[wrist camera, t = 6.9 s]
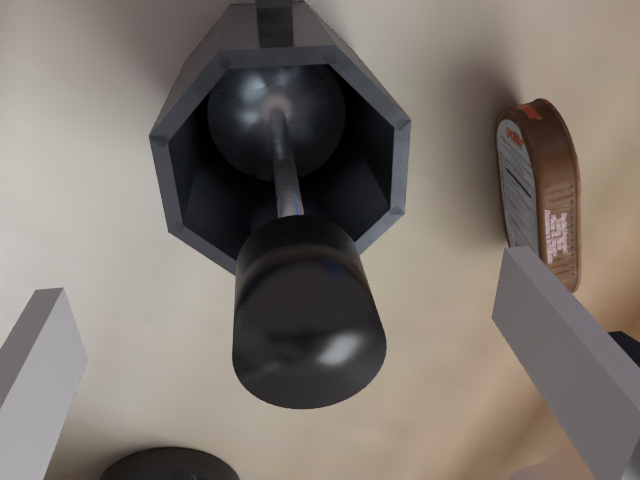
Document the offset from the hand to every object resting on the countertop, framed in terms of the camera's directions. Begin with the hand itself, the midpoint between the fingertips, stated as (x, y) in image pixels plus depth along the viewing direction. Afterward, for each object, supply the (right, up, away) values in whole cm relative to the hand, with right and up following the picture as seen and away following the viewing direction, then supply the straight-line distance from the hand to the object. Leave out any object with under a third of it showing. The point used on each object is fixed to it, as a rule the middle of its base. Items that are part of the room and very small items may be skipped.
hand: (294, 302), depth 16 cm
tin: (+16, +7, +25) cm, 30 cm away
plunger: (-2, +9, +15) cm, 18 cm away
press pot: (-2, +13, +18) cm, 23 cm away
